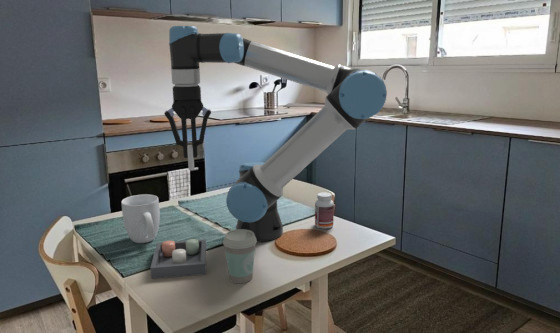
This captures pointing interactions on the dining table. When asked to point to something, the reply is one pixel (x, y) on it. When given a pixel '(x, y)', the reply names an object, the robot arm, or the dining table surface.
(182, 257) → the button ivory
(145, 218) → the mug
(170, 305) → the dining table surface
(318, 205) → the pill bottle
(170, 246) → the button coral
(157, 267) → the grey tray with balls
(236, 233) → the coffee cup
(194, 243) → the button sage
